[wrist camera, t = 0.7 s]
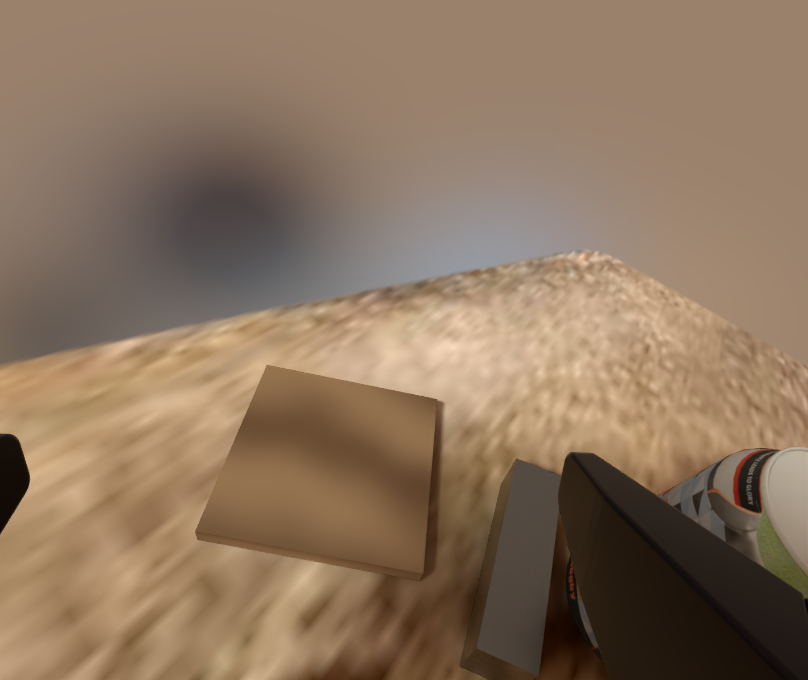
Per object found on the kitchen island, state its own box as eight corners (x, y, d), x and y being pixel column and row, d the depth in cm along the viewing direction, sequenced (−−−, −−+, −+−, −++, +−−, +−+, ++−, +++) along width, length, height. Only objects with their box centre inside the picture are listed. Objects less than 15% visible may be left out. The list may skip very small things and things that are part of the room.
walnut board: (419, 580, 22) (423, 573, 22) (197, 539, 22) (195, 531, 22) (434, 407, 30) (437, 399, 29) (267, 374, 29) (266, 364, 29)
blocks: (810, 825, 19) (863, 821, 17) (459, 666, 20) (476, 648, 19) (764, 589, 25) (799, 570, 23) (501, 484, 27) (516, 458, 25)
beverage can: (603, 522, 26) (752, 369, 18) (732, 656, 23) (994, 539, 14) (523, 592, 23) (662, 443, 15) (660, 762, 19) (947, 690, 11)
